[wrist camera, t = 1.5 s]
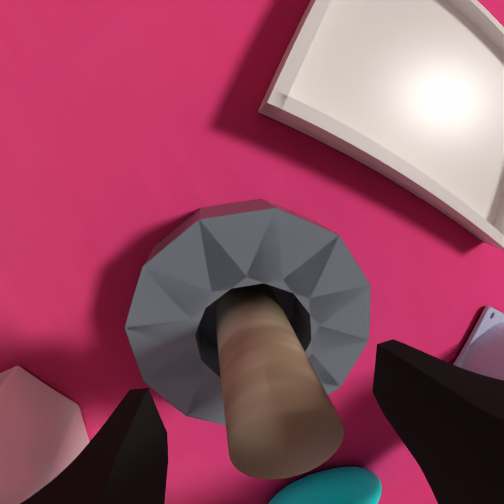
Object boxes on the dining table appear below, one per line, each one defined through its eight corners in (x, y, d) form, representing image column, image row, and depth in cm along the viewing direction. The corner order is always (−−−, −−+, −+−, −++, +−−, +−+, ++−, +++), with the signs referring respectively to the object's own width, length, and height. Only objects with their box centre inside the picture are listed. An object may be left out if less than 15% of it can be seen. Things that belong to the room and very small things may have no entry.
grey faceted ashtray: (374, 248, 16) (406, 266, 13) (292, 402, 18) (305, 437, 15) (183, 168, 13) (176, 169, 11) (121, 357, 15) (109, 392, 12)
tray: (523, 82, 14) (546, 80, 12) (484, 242, 17) (508, 251, 15) (344, -63, 11) (359, -83, 8) (257, 112, 13) (267, 102, 11)
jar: (38, 350, 15) (-60, 513, 3) (118, 444, 17) (93, 603, 6) (-31, 382, 14) (-105, 492, 3) (37, 460, 17) (0, 575, 5)
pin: (288, 291, 15) (365, 414, 7) (263, 344, 16) (309, 481, 8) (228, 271, 15) (258, 397, 6) (205, 327, 15) (213, 472, 7)
